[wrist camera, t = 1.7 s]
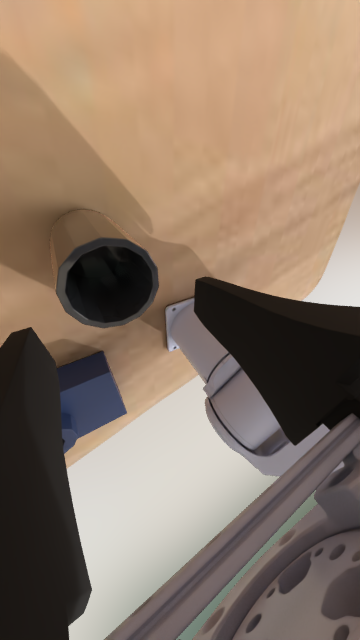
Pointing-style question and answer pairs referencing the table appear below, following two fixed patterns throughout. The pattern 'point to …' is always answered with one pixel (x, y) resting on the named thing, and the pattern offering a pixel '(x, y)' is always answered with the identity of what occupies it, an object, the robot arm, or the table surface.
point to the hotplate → (87, 397)
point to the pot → (100, 270)
